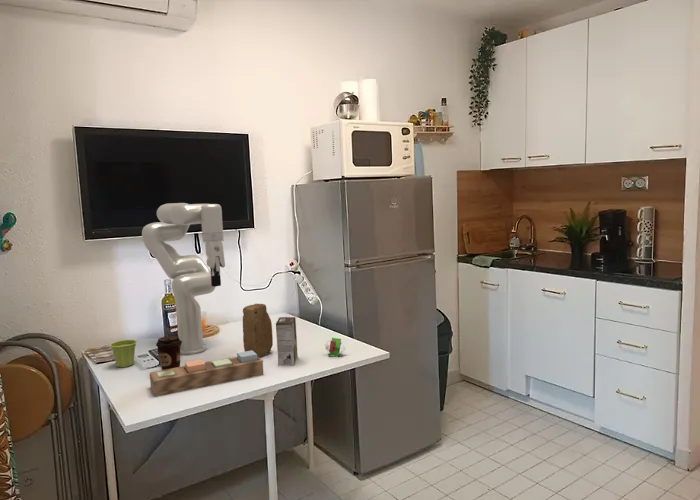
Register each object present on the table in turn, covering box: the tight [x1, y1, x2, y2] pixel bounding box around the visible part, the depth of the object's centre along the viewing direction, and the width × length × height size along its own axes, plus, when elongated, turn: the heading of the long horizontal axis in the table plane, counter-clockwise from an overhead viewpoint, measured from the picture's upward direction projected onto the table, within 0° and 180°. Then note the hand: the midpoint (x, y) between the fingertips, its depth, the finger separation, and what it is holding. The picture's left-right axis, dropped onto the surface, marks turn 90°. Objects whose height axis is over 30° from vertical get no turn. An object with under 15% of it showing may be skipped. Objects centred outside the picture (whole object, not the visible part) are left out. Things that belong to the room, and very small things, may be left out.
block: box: [242, 303, 274, 358], centre depth 206 cm, size 11×8×20 cm
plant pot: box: [109, 339, 137, 368], centre depth 200 cm, size 9×9×9 cm
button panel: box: [149, 356, 264, 397], centre depth 180 cm, size 36×10×5 cm, turn 118°
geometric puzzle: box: [324, 337, 346, 357], centre depth 202 cm, size 7×7×8 cm
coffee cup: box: [155, 335, 182, 370], centre depth 188 cm, size 9×8×13 cm
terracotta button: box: [184, 359, 206, 373], centre depth 177 cm, size 6×6×4 cm
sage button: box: [211, 358, 232, 368], centre depth 182 cm, size 6×6×4 cm
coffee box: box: [275, 316, 299, 367], centre depth 196 cm, size 9×6×16 cm
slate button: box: [236, 350, 257, 363], centre depth 186 cm, size 6×6×4 cm
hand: (216, 285), depth 198 cm, fingers closed
